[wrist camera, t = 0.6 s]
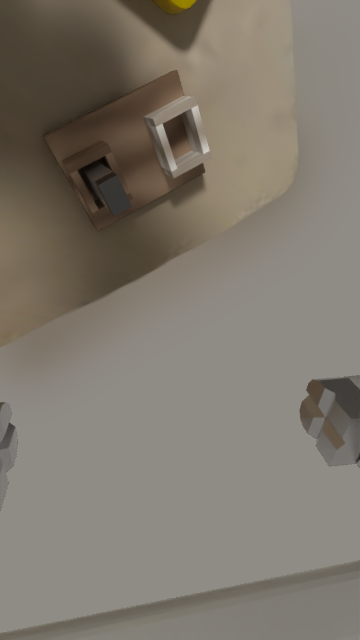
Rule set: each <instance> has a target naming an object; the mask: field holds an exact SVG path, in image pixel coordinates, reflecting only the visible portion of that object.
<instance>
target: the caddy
mask: <svg viewBox="0 0 360 640" xmlns="http://www.w3.org/2000/svg"><path fill="white" fill-rule="evenodd" d="M43 137H44V139H45V141H46V142H47V144H48V146H49V148H50V149H51V151H52V153H53V155H54V156H55V158H56V160H57V162H58V163H59V165H60V167H61V169H62V170H63V172H64V174H65V176H66V177H67V179H68V181H69V183H70V184H71V186H72V188H73V189H74V191H75V193H76V195H77V196H78V198H79V200H80V202H81V203H82V205H83V207H84V209H85V210H86V212H87V214H88V216H89V217H90V219H91V221H92V223H93V224H94V226H95V228H96V229H97V231H99V230H101V229H103V228H105V227H107V226H108V225H110V224H112V223H114V222H116V221H117V220H119V219H121V218H123V217H125V216H127V215H128V214H130V213H132V212H134V211H136V210H137V209H139V208H141V207H143V206H145V205H147V204H148V203H150V202H152V201H154V200H156V199H157V198H159V197H161V196H163V195H165V194H166V193H168V192H170V191H172V190H174V189H176V188H177V187H179V186H181V185H183V184H185V183H186V182H188V181H190V180H192V179H194V178H195V177H197V176H199V175H201V174H203V173H205V169H204V165H203V162H205V161H207V160H208V159H210V158H211V155H210V151H209V147H208V143H207V139H206V136H205V132H204V128H203V124H202V120H201V116H200V112H199V109H198V105H197V101H196V97H189V96H184V93H183V89H182V86H181V82H180V79H179V75H178V72H177V70H175V71H171V72H169V73H167V74H165V75H163V76H161V77H159V78H157V79H155V80H153V81H151V82H149V83H147V84H145V85H143V86H142V87H140V88H138V89H136V90H134V91H132V92H130V93H128V94H126V95H124V96H122V97H120V98H118V99H116V100H114V101H112V102H110V103H108V104H106V105H104V106H102V107H100V108H98V109H96V110H94V111H92V112H90V113H88V114H86V115H84V116H82V117H80V118H78V119H76V120H74V121H72V122H70V123H68V124H66V125H64V126H62V127H60V128H58V129H56V130H54V131H52V132H50V133H48V134H46V135H44V136H43ZM96 160H97V161H99V162H100V163H101V164H103V165H104V166H106V167H107V168H108V169H110V170H111V171H113V172H114V173H115V174H117V175H118V177H119V180H120V182H121V184H122V186H123V188H124V190H125V193H126V195H127V197H128V199H129V201H130V203H131V205H132V207H130V208H129V209H127V210H125V211H123V212H121V213H119V214H118V215H116V216H113V214H112V213H111V212H110V211H109V210H108V209H107V208H106V207H105V206H104V205H103V203H102V202H101V201H100V200H99V199H98V198H97V197H96V196H95V195H94V193H93V191H92V189H91V187H90V185H89V183H88V182H87V180H86V178H85V176H84V174H83V172H82V170H81V168H82V167H84V166H86V165H88V164H90V163H92V162H94V161H96Z"/></svg>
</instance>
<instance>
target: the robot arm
mask: <svg viewBox="0 0 360 640" xmlns="http://www.w3.org/2000/svg"><path fill="white" fill-rule="evenodd" d="M306 391H307V393H308V395H309V396H307V398H305V399H304V400H303V401H302V403H301V407H300V419H301V422H302V425H303V427H304V429H305V430H306V432H307V433H308V434H309V435H311V436H312V437H314V438H315V439H317V440H316V447H317V449H318V450H319V452H320V453H321V455H322V456H323V457H324V459H325V461H326V462H327V464H328V465H329V466H338V465H347V464H357V466H358V467H360V375H357V376H346V377H337V378H325V379H313V380H311V381H310V382H309V383H308V386H307V389H306ZM11 415H12V412H11V409H10V406H9V404H8V403H6V402H1V403H0V510H1V508H2V504H3V500H4V497H5V494H6V490H7V487H8V484H9V482H8V479H7V475H6V472H8V471H9V470H10V469H11V468H12V467H13V465H14V462H15V458H16V454H17V444H18V441H17V432H16V427H15V426H14V425H12V424H11V423H9V421H10V418H11ZM0 640H360V560H359V561H354V562H349V563H344V564H340V565H335V566H329V567H324V568H319V569H315V570H310V571H305V572H300V573H295V574H290V575H285V576H280V577H275V578H270V579H265V580H260V581H255V582H250V583H245V584H241V585H236V586H230V587H225V588H221V589H216V590H211V591H206V592H201V593H196V594H191V595H186V596H181V597H176V598H171V599H167V600H161V601H156V602H151V603H146V604H142V605H137V606H131V607H127V608H122V609H117V610H112V611H107V612H102V613H97V614H92V615H87V616H82V617H77V618H73V619H67V620H63V621H58V622H53V623H48V624H43V625H38V626H33V627H28V628H23V629H18V630H13V631H8V632H3V633H0Z"/></svg>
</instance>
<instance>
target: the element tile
mask: <svg viewBox="0 0 360 640" xmlns="http://www.w3.org/2000/svg"><path fill="white" fill-rule="evenodd" d="M153 1H154V2H155V3H156V4H157V5H158V6H159V7H160V8H161V9H162V10H164V11H165V12H167V13H169V14H176V13H179V12H182V11H184V10H186V9H188V8H190V7H191V6H192V5H193V4H194V3H195V2H196V0H153Z"/></svg>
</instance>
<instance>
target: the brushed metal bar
mask: <svg viewBox="0 0 360 640" xmlns="http://www.w3.org/2000/svg"><path fill="white" fill-rule="evenodd" d="M81 170H82V172H83V174H84V176H85V178H86V180H87V182H88V183H89V185H90V187H91V189H92V191H93V193H94V195H95V196H96V197H97V198H98V199H99V200H100V201H101V202H102V203H103V205H104V206H105V207H106V208H107V209H108V210H109V211H110V212H111V213H112V214H113V216H116V215H118V214H119V213H121V212H123V211H125V210H127V209H129V208H130V207H132V205H131V203H130V201H129V199H128V197H127V195H126V193H125V190H124V188H123V186H122V184H121V182H120V180H119V177H118V175H117V174H115V173H114V172H113V171H111V170H110V169H108V168H107V167H106V166H104V165H103V164H101V163H100V162H99V161H97V160H96V161H94V162H92V163H90V164H88V165H86V166H84V167H82V168H81Z"/></svg>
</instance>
